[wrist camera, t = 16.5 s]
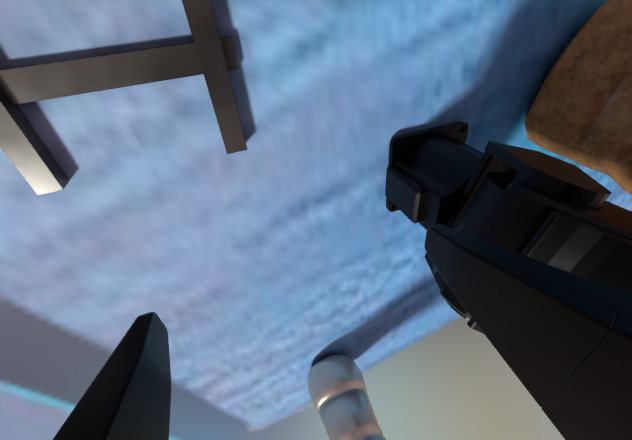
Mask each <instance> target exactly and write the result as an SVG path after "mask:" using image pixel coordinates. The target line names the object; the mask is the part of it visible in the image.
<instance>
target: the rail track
mask: <svg viewBox="0 0 632 440" xmlns="http://www.w3.org/2000/svg"><path fill="white" fill-rule="evenodd" d="M182 2H183V6H184V9H185V12H186V16H187V19H188V23H189V26H190V29H191V33H192V36H193V39H194V42H191V43H184V44H177V45H170V46H163V47H156V48H149V49H142V50H134V51H127V52H120V53H113V54H106V55H99V56H92V57H85V58H78V59H71V60H64V61H57V62H50V63H42V64H35V65H28V66H21V67H14V68H7V69H0V147H1V149H2V150H3V151H4V152H5V154H6V155H7V156H8V157H9V159H10V160H11V161H12V163H13V164H14V165H15V166H16V168H17V169H18V170H19V172H20V173H21V174H22V175H23V177H24V178H25V179H26V181H27V182H28V183H29V184H30V186H31V187H32V188H33V189H34V191H35V192H36V193H37V195H40V194H45V193H49V192H54V191H59V190H63V189H64V187H65V186H66V185H67V183H68V182H69V180H68V179H67V177H66V176H65V174H64V173H63V172H62V170H61V169H60V167H59V166H58V164H57V163H56V161H55V160H54V158H53V157H52V155H51V154H50V152H49V151H48V150H47V148H46V147H45V145H44V144H43V142H42V141H41V139H40V138H39V136H38V135H37V133H36V132H35V131H34V129H33V128H32V126H31V125H30V123H29V122H28V120H27V119H26V117H25V116H24V114H23V113H22V111H21V110H20V109H19V107H18V106H17V104H21V103H28V102H34V101H40V100H46V99H52V98H58V97H65V96H71V95H77V94H83V93H89V92H95V91H101V90H108V89H114V88H120V87H126V86H132V85H138V84H144V83H151V82H157V81H163V80H169V79H175V78H181V77H188V76H194V75H200V74H204V77H205V80H206V83H207V87H208V90H209V94H210V97H211V100H212V104H213V107H214V111H215V114H216V117H217V121H218V124H219V127H220V131H221V134H222V138H223V141H224V144H225V148H226V151H227V154H229V153H234V152H238V151H243V150H247V146H246V142H245V138H244V134H243V130H242V126H241V122H240V118H239V114H238V110H237V106H236V102H235V98H234V94H233V90H232V86H231V82H230V78H229V74H228V70H231V69H237V68H238V64H237V60H236V56H235V51H234V47H233V42H232V38H231V37H226V38H219V34H218V30H217V26H216V22H215V18H214V14H213V10H212V6H211V2H210V0H182Z"/></svg>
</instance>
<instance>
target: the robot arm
mask: <svg viewBox="0 0 632 440" xmlns="http://www.w3.org/2000/svg"><path fill="white" fill-rule="evenodd" d="M461 128H462V129H461ZM460 129H461V130H460ZM467 132H468V124H467V123H465V122H457V123H452V124H448V125H444V126H439V127H435V128H431V129H426V130H422V131H418V132H413V133H409V134H405V135H400V136H396V137H394V138H393V139H392V140H391V141H390V147H389V164H388V168H387V175H386V193H385V195H386V196H387V198H386V208H387V209H388V210H389V211H391V212H393V211H397V210H401V211H402V212H403V213H404V214H405V215H406V216H407V217H408V218H409V219H410V220H411V221H412V222H414V223H418V222H419V223H420V224H421V225H422V226H423V227H424V228H425V229H426V230H427V233H426V239H425V249H426V252H427V253H426V255H425V258H426V260H427V263H428V265H429V267H430V269H431V271H432V273H433V275H434V277H435V279H436V282H437V284H438V286H439V288H440V293H441V295H442V297H443V298H444V299H445V300H446V301H447V303H448V304H449V305H450V307H451V308H452V309H454V310H455V311H456V312H457V313H458V314H459V315H461V316H462V317H464V318H465V319H467V320H469V321H468V323H467V324H468V325H469V327H470V328H472V329H474V330H477V331H479V332H481V333H484V334H485V335H486V337H487V338H488V339H489V340H490V342H491V343H492V345H493V346H494V347H495V348H496V349H497V351H498V352H499V354H500V355H501V356H502V358H503V359H504V360H505V361H506V363H507V364H508V365H509V367H510V368H511V369H512V371H513V372H514V373H515V374H516V376H517V377H518V378H519V380H520V381H521V382H522V384H523V385H524V386H525V387H526V389H527V390H528V391H529V393H530V394H531V395H532V397H533V398H534V399H535V401H536V402H537V403H538V404H539V406H540V407H542V410H543V411H544V412H545V414H546V415H547V416H548V418H549V419H550V420H551V422H552V423H553V424H554V426H555V427H556V428H557V429H558V431H559V432H560V433H561V435H562V436H563V437H564V438H565V440H632V212H631V211H628V210H626V209H624V208H621V207H619V206H617V205H614V204H612V203H610V202H607V201H605V200H606V199H607V198H608V197H609V195H610V194H611V192H610V191H609V190H607V189H606V188H605V187H603V186H602V185H601V184H599V183H598V182H597V181H595V180H594V179H593V178H591V177H590V176H589V175H587V174H586V173H585V172H583V171H582V170H581V169H579V168H578V167H576V166H575V165H572V164H570V163H567V162H565V161H562V160H559V159H557V158H554V157H552V156H549V155H546V154H544V153H541V152H538V151H534V150H529V149H525V148H520V147H515V146H511V145H506V144H501V143H497V142H492V141H489V142H488V144H487V146H486V148H485V149H484V150H485V153H482V152H480V151H478V150H476V149H474V148H472V147H470V146H468V145H466V144H465V141H466V136H467ZM397 142H399V143H398V145H397V146H395V145H396V143H397ZM393 204H394V205H393ZM392 205H393V206H392ZM391 206H392V207H391ZM170 402H171V372H170V357H169V343H168V332H167V329H166V327H165V325H164V324H163V323H162V321H161V320H160V318H159V317H158V315H157V314H156V313H155V312H150V313H146V314H143V315H140V316H138V317H137V319H136V320H135V321H134V323H133V324H132V326H131V327H130V329H129V330H128V331H127V333H126V334H125V336H124V337H123V339H122V340H121V342H120V343H119V344H118V346H117V347H116V349H115V350H114V352H113V353H112V355H111V356H110V357H109V359H108V360H107V362H106V363H105V365H104V366H103V368H102V369H101V371H100V372H99V373H98V375H97V376H96V378H95V379H94V381H93V382H92V383H91V385H90V386H89V388H88V389H87V391H86V392H85V394H84V395H83V397H82V398H81V399H80V401H79V402H78V404H77V405H76V407H75V408H74V410H73V411H72V412H71V414H70V415H69V417H68V418H67V420H66V421H65V423H64V424H63V425H62V427H61V428H60V430H59V431H58V433H57V434H56V436H55V437H54V438H53V440H169V422H170Z"/></svg>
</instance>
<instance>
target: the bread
mask: <svg viewBox="0 0 632 440" xmlns="http://www.w3.org/2000/svg"><path fill="white" fill-rule="evenodd" d="M525 127H526V132H527V137H528V139H529V140H530V141H532V142H533V143H535V144H536V145H538V146H540V147H541V148H543V149H546V150H548V151H551V152H553V153H555V154H558V155H561V156H564V157H566V158H569V159H571V160H573V161H575V162H577V163H579V164H581V165H583V166H586V167H588V168H590V169H593V170H596V171H599V172H602V173H604V174H607V175H608V176H609V177H611V178H612V179H613V180H614V181H615V182H616V183H617V184H618V185H619V186H620V187H621V188H622V189H624V190H625V191H627V192H628V193H629V194H631V195H632V0H608V1H607V2H606V3H605V4H603V5H602V6H601V7H599V8H598V9H597V11H596V12H595V13H594V14H593V15H592V16H591V17H590V19H589V20H588V21H587V22H586V23H585V24H584V25H583V27H582V28H581V29H580V30H579V32H578V33H577V34H576V36H575V37H574V38H573V39H572V41H571V42H570V43H569V45H568V46H567V47H566V49H565V50H564V52H563V53H562V55H561V56H560V57H559V59H558V60H557V62H556V63H555V65H554V66H553V68H552V69H551V71H550V72H549V74H548V76H547V78H546V79H545V81H544V83H543V85H542V86H541V88H540V90H539V92H538V94H537V96H536V98H535V100H534V101H533V103H532V105H531V107H530V109H529V112H528V115H527V117H526V120H525Z"/></svg>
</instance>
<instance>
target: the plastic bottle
mask: <svg viewBox="0 0 632 440" xmlns="http://www.w3.org/2000/svg"><path fill="white" fill-rule="evenodd" d="M307 382H308V390H309V394H310V397H311V399H312V401H313V404H314V406H315V408H316V409H317V411H318V412H319V414H320V417H321V419H322V422H323V424H324V427H325V429H326V432H327V434H328V437H329V439H330V440H386V439H385V437H384V436H383V433H382V431H381V429H380V427H379V425H378V422H377V420H376V417H375V414H374V411H373V409H372V406H371V403H370V400H369V398H368V395H367V393H366V387H365V382H364V379H363V376H362V373H361V371H360V369H359V368H358V366H357V365H356V363H355V362H354V360H352V359H351V358H349V357H348V356H346V355H341V354H340V355H332V356H329V357H326V358H324V359H322V360H320V361H319V362H317V363H316V364H315V365H314V366H313V367H312V368H311V369H310V372H309V375H308V379H307Z"/></svg>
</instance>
